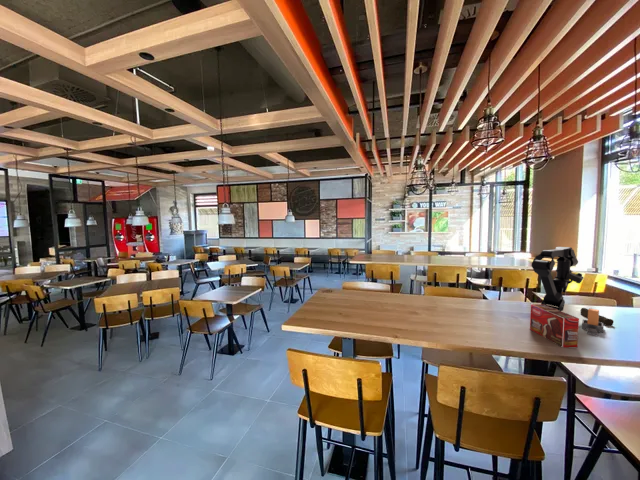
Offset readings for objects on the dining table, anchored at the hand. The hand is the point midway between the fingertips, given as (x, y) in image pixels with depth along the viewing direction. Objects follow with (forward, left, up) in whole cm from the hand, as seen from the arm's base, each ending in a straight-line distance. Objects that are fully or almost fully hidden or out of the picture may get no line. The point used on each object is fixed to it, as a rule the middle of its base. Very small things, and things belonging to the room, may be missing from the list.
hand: (561, 294), depth 156 cm
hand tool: (+13, -6, -14) cm, 20 cm away
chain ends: (-1, -20, -13) cm, 23 cm away
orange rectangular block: (-1, -20, -13) cm, 23 cm away
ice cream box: (-31, -31, -13) cm, 45 cm away
